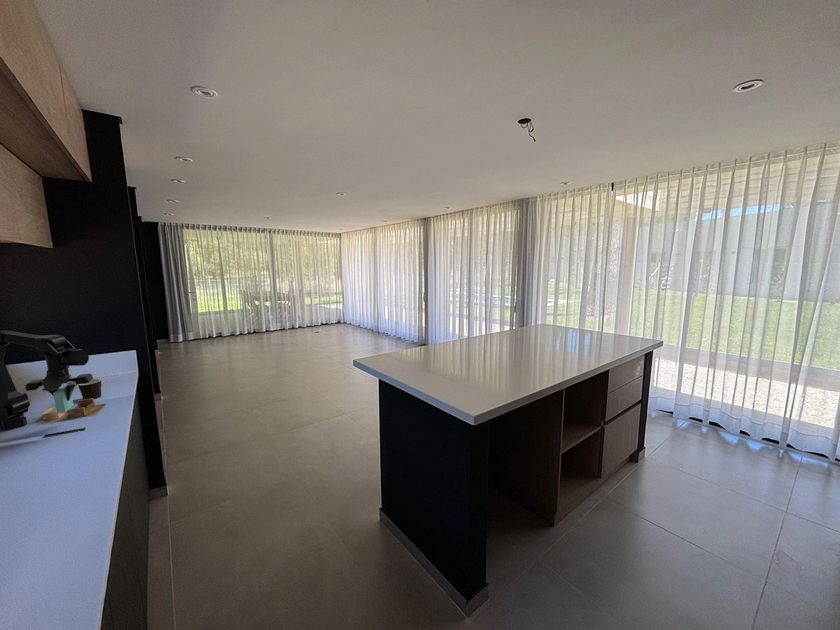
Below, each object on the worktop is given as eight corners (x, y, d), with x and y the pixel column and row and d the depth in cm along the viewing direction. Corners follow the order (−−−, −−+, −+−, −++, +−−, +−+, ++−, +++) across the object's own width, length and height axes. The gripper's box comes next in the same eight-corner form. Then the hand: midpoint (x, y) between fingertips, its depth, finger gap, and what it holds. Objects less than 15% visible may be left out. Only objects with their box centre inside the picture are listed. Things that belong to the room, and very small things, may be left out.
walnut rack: (35, 428, 143) (32, 416, 142) (50, 414, 155) (48, 403, 154) (97, 418, 152) (95, 406, 151) (107, 406, 164) (105, 395, 163)
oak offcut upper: (42, 417, 146) (41, 414, 146) (49, 411, 152) (49, 408, 152) (57, 415, 149) (57, 411, 148) (64, 408, 155) (64, 405, 154)
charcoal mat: (43, 438, 135) (42, 436, 135) (56, 426, 145) (55, 425, 145) (83, 430, 141) (82, 429, 141) (92, 419, 150) (92, 418, 150)
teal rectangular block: (57, 413, 137) (53, 393, 136) (65, 406, 144) (62, 386, 143) (65, 412, 139) (61, 392, 137) (73, 405, 145) (70, 385, 144)
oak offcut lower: (43, 420, 146) (42, 417, 146) (51, 414, 152) (50, 411, 152) (59, 418, 149) (58, 415, 148) (66, 412, 155) (65, 408, 154)
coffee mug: (85, 398, 173) (82, 380, 171) (107, 395, 177) (104, 377, 175) (74, 407, 163) (70, 388, 161) (97, 404, 166) (94, 385, 165)
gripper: (13, 375, 127) (21, 413, 129) (80, 368, 136) (86, 403, 138) (29, 366, 136) (36, 402, 139) (90, 360, 145) (96, 394, 148)
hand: (64, 401), depth 141 cm, fingers closed on teal rectangular block, 2 cm apart
